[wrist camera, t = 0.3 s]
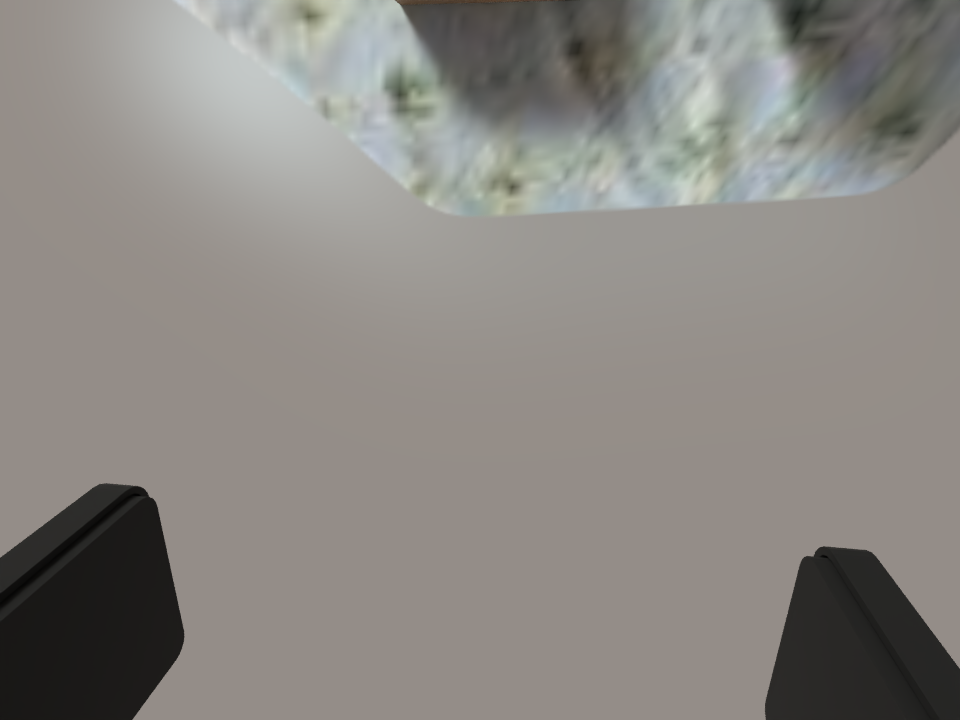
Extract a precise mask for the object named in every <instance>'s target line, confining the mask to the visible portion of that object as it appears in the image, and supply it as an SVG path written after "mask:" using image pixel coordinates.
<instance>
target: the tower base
mask: <svg viewBox="0 0 960 720" xmlns="http://www.w3.org/2000/svg"><path fill="white" fill-rule="evenodd" d="M395 1H397V2H398V3H399V4H400V5H410V4H449V3H487V2H525V1H563V0H395Z"/></svg>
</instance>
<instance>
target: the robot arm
mask: <svg viewBox="0 0 960 720" xmlns="http://www.w3.org/2000/svg"><path fill="white" fill-rule="evenodd" d="M183 642H184V629H183V624H182V620H181V615H180V610H179V606H178V601H177V596H176V592H175V587H174V582H173V578H172V573H171V569H170V563H169V559H168V555H167V549H166V545H165V540H164V535H163V531H162V526H161V522H160V517H159V512H158V507H157V504H156V502H155V501H154V499H153V498H150V497H149V496H148V493H147V492H146V490H145V489H144V488H142V487H138V486H130V485H118V484H107V483H106V484H99V485H97V486H96V487H94V488H92V489H91V490H90V491H88V492H87V493H86V494H84V495H83V496H82V497H80V498H79V499H78V500H76V501H75V502H74V503H72V504H71V505H70V506H68V507H67V508H66V509H65V510H63V511H62V512H60V513H59V514H58V515H56V516H55V517H54V518H52V519H51V520H50V521H48V522H47V523H46V524H44V525H43V526H42V527H41V528H39V529H38V530H36V531H35V532H34V533H33V534H32V535H30V536H29V537H27V538H26V539H25V540H23V541H22V542H21V543H19V544H18V545H17V546H15V547H14V548H13V549H11V550H10V551H9V552H7V553H6V554H5V555H3V556H2V557H1V558H0V720H132V719H133V718H134V717H135V715H136V714H137V712H138V711H139V710H140V708H141V707H142V706H143V704H144V703H145V702H146V700H147V699H148V697H149V696H150V695H151V693H152V692H153V691H154V689H155V688H156V687H157V685H158V684H159V683H160V681H161V680H162V678H163V677H164V676H165V674H166V673H167V672H168V670H169V669H170V668H171V666H172V665H173V663H174V662H175V661H176V659H177V658H178V656H179V654H180V652H181V649H182V646H183ZM765 715H766V720H960V669H959V667H958V666H957V665H956V663H955V662H954V661H953V659H952V658H951V657H950V655H949V654H948V653H947V651H946V650H945V648H944V647H943V646H942V644H941V643H940V642H939V640H938V639H937V638H936V636H935V635H934V634H933V632H932V631H931V630H930V628H929V627H928V626H927V624H926V623H925V622H924V620H923V619H922V618H921V616H920V615H919V614H918V612H917V611H916V610H915V608H914V607H913V606H912V604H911V603H910V602H909V600H908V599H907V598H906V596H905V595H904V594H903V592H902V591H901V589H900V588H899V587H898V585H897V584H896V583H895V581H894V580H893V579H892V577H891V576H890V575H889V573H888V572H887V571H886V569H885V568H884V567H883V565H882V564H881V563H880V561H879V560H878V559H877V558H876V556H875V555H874V554H873V553H872V552H869V551H867V550H858V549H847V548H835V547H820V548H818V550H817V551H816V552H815V555H814V557H811V556H806V557H804V558H803V559H802V561H801V564H800V567H799V570H798V574H797V578H796V582H795V587H794V590H793V594H792V598H791V602H790V606H789V610H788V614H787V618H786V622H785V626H784V630H783V634H782V638H781V642H780V646H779V650H778V654H777V658H776V662H775V666H774V670H773V674H772V678H771V682H770V686H769V690H768V694H767V698H766V703H765Z"/></svg>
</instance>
